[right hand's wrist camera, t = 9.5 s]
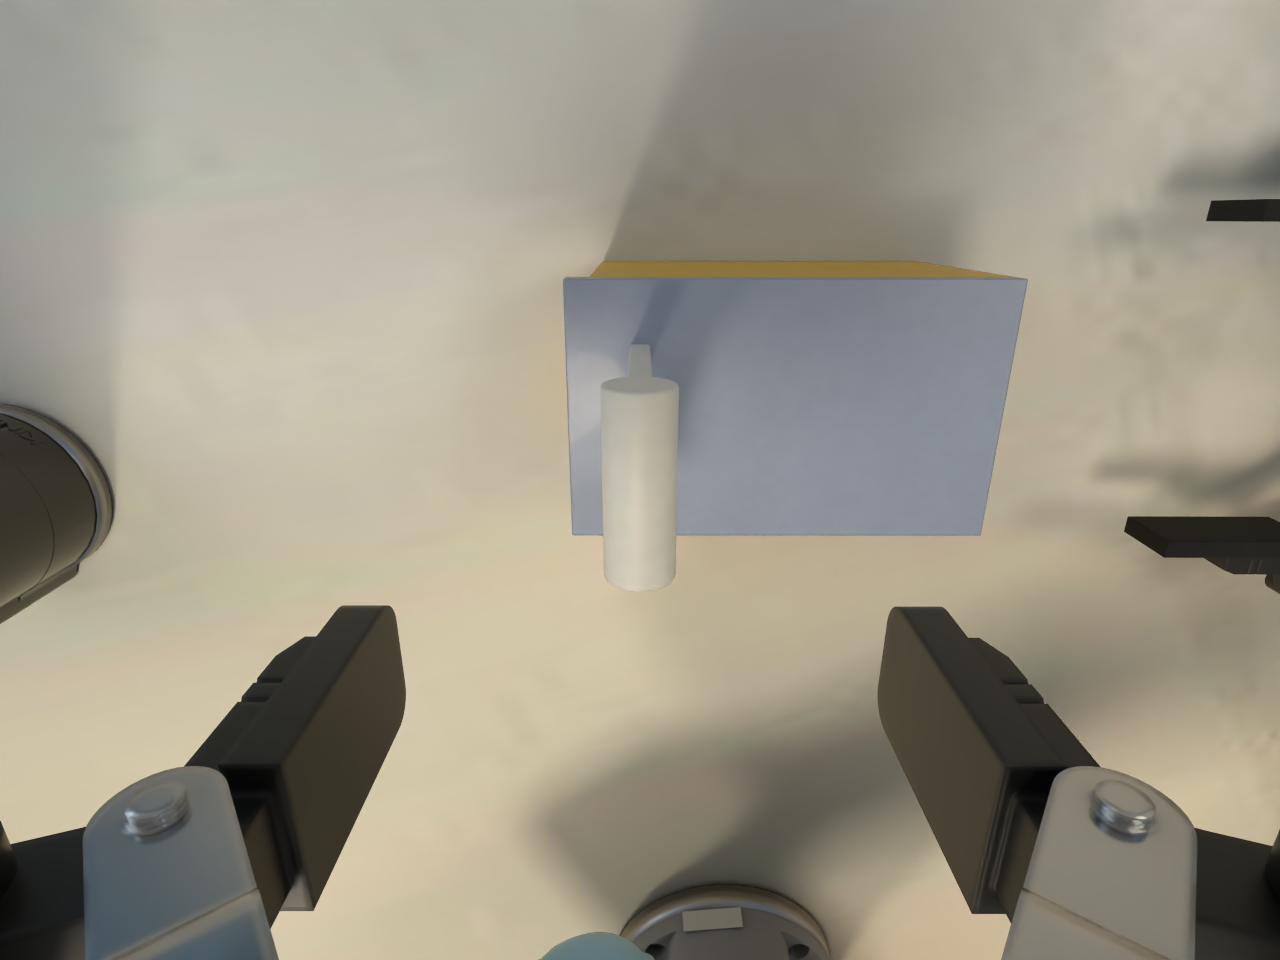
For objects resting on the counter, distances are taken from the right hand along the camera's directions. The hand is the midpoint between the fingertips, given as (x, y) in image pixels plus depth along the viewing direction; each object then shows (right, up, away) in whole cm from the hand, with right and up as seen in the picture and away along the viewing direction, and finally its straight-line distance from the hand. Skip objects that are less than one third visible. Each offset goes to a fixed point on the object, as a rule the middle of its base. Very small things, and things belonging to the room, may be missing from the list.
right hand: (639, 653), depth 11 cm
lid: (+5, +6, +15) cm, 17 cm away
